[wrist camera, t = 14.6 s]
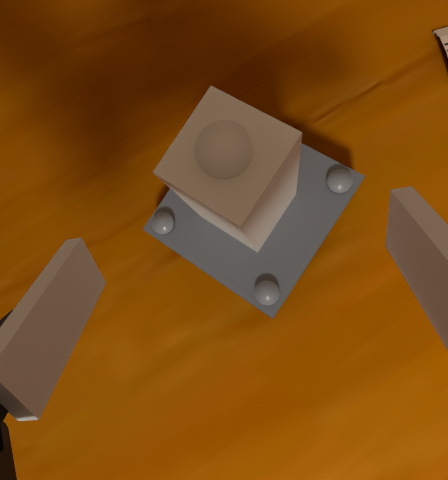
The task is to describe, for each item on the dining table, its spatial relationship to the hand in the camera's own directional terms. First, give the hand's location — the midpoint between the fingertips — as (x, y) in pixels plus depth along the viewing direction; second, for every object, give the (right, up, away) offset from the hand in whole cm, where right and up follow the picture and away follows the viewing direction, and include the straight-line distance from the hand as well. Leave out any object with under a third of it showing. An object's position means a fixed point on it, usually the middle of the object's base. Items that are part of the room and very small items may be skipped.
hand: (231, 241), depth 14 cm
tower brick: (+2, +3, +14) cm, 15 cm away
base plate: (+3, +2, +18) cm, 19 cm away
